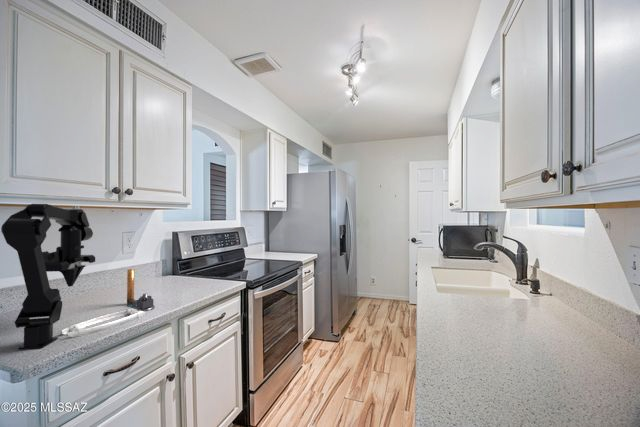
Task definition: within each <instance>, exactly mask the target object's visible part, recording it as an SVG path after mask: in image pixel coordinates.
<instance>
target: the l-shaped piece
mask: <svg viewBox="0 0 640 427" xmlns="http://www.w3.org/2000/svg"><path fill="white" fill-rule="evenodd" d="M126 271H127V272H126V274H127V276H126V305H129V304H135V305H136V308H137V307H138V308H141V309H145V308H148V307H152V306H153V305H154V298H152V297H153V296H152V295H148V297H147V298H145V301H143V295H142V296H141V295H140V297H138V299H135V269H134V268H129V269H127V270H126Z"/></svg>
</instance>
